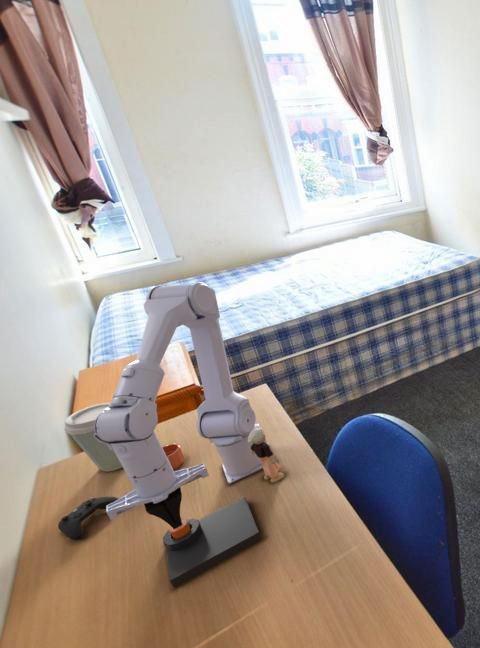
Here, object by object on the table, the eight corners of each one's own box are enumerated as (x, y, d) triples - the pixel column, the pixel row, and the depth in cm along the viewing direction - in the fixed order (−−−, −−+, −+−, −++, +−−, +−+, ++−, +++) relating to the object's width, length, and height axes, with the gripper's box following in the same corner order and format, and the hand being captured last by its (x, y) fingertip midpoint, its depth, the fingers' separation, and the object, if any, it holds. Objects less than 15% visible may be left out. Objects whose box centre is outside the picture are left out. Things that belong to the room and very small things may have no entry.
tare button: (189, 523, 88) (186, 516, 87) (191, 532, 86) (188, 525, 85) (172, 532, 87) (168, 525, 86) (173, 541, 85) (170, 534, 84)
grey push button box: (248, 503, 96) (242, 490, 95) (261, 539, 87) (256, 525, 86) (167, 544, 88) (160, 530, 87) (174, 588, 79) (166, 574, 78)
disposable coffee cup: (119, 447, 118) (93, 397, 112) (156, 448, 116) (131, 397, 110) (78, 478, 108) (47, 425, 102) (118, 479, 106) (88, 426, 101)
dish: (184, 453, 113) (178, 440, 111) (186, 464, 109) (180, 451, 108) (158, 464, 110) (151, 451, 108) (160, 476, 106) (153, 462, 105)
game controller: (78, 539, 90) (50, 521, 89) (72, 551, 92) (45, 533, 91) (125, 500, 99) (100, 483, 98) (118, 512, 101) (94, 496, 100)
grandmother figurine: (292, 472, 103) (275, 426, 98) (279, 485, 100) (261, 437, 95) (265, 466, 106) (248, 421, 101) (252, 479, 103) (233, 432, 97)
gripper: (93, 502, 73) (129, 562, 79) (199, 456, 81) (225, 514, 87) (94, 478, 78) (128, 537, 84) (193, 438, 86) (218, 493, 92)
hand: (177, 524), depth 86 cm, fingers closed
